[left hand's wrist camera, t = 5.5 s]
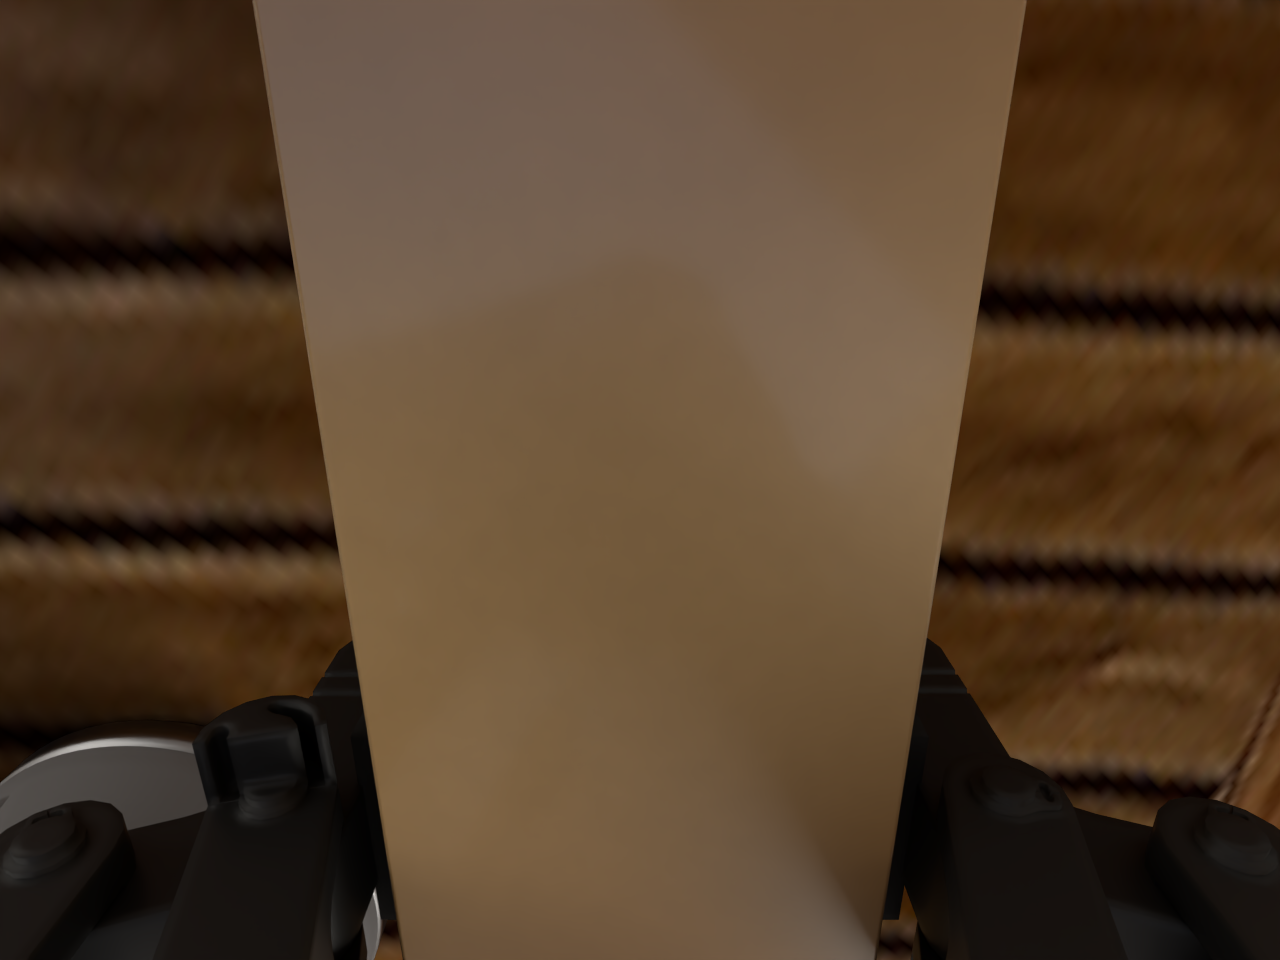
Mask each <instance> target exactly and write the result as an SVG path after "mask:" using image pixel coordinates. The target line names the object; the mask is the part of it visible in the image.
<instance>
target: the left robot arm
mask: <svg viewBox="0 0 1280 960" xmlns="http://www.w3.org/2000/svg"><path fill="white" fill-rule="evenodd" d="M904 885H905V888H906V890H907V893H908V896H909V898H910V901H911V904H912V906H913V909H914V912H915V915H916V917H917V920H918V922H917V927H916V933H915V938H914V944H913V949H912V955H911V960H1280V830H1279V829H1278V828H1276V827H1275V826H1274V825H1272V824H1270V823H1268V822H1266V821H1265V820H1263V819H1261V818H1259V817H1257V816H1256V815H1254V814H1252V813H1250V812H1248V811H1246V810H1244V809H1241V808H1238V807H1235V806H1232V805H1229V804H1226V803H1223V802H1220V801H1218V800H1212V799H1204V798H1196V797H1185V798H1179V799H1173V800H1169V801H1168V802H1167V803H1166V804H1165V805H1163V806H1162V807H1161V808H1160V809H1159V810H1158V812H1157V815H1156V818H1155V822H1154V825H1153V827H1150V826H1146V825H1141V824H1137V823H1133V822H1128V821H1124V820H1120V819H1115V818H1111V817H1107V816H1102V815H1098V814H1095V813H1091V812H1088V811H1085V810H1081V809H1078V808H1075V807H1073V805H1072V803H1071V802H1070V800H1069V799H1068V797H1067V795H1066V794H1065V792H1064V791H1063V789H1062V787H1060V786H1059V785H1058V784H1057V783H1056V782H1055V781H1053V780H1052V779H1051V778H1050V777H1049V776H1047V775H1046V774H1045V773H1044V772H1043V771H1041V770H1039V769H1037V768H1035V767H1033V766H1031V765H1029V764H1027V763H1025V762H1023V761H1021V760H1018V759H1014V758H1011V757H1010V756H1009V755H1008V753H1007V751H1006V750H1005V748H1004V747H1003V745H1002V744H1001V742H1000V740H999V739H998V737H997V736H996V734H995V733H994V731H993V729H992V728H991V726H990V725H989V723H988V722H987V720H986V718H985V717H984V715H983V714H982V712H981V710H980V709H979V707H978V706H977V704H976V703H975V701H974V699H973V698H972V696H971V695H970V694H967V688H966V687H965V685H964V684H963V682H962V681H961V679H960V677H959V676H958V675H955V670H954V668H953V666H952V665H951V663H950V662H949V660H948V659H947V657H946V655H945V654H944V652H943V651H942V649H941V648H940V647H939V646H937V645H936V644H935V643H933V642H932V641H931V640H929V639H928V638H927V639H926V646H925V652H924V658H923V665H922V671H921V677H920V684H919V690H918V697H917V703H916V709H915V716H914V722H913V728H912V735H911V741H910V748H909V754H908V760H907V767H906V773H905V779H904V786H903V792H902V799H901V805H900V811H899V818H898V824H897V830H896V837H895V843H894V850H893V856H892V862H891V869H890V875H889V882H888V888H887V894H886V901H885V907H884V913H883V920H899V914H900V908H901V902H902V896H903V890H904ZM387 920H397V918H396V912H395V906H394V899H393V893H392V887H391V880H390V874H389V867H388V861H387V855H386V848H385V842H384V836H383V829H382V823H381V816H380V810H379V804H378V797H377V791H376V785H375V778H374V772H373V766H372V759H371V753H370V746H369V740H368V734H367V727H366V721H365V715H364V708H363V702H362V696H361V689H360V683H359V676H358V670H357V664H356V657H355V651H354V645H353V640H352V641H351V642H350V643H348V644H347V645H346V646H344V647H343V648H342V649H340V650H339V651H338V653H337V654H336V656H335V658H334V659H333V661H332V662H331V664H330V666H329V667H328V669H327V670H326V672H325V677H322V678H321V680H320V681H319V683H318V685H317V686H316V688H315V689H314V691H313V696H310V697H309V699H307V698H304V697H300V696H296V695H287V696H270V697H265V698H261V699H257V700H253V701H249V702H246V703H244V704H241V705H239V706H237V707H235V708H233V709H230V710H228V711H226V712H224V713H222V714H221V715H220V716H218V717H217V718H216V719H214V720H213V721H211V722H210V723H209V724H207V725H206V726H200V725H195V724H189V723H181V722H173V721H155V720H140V721H123V722H115V723H107V724H102V725H98V726H93V727H89V728H85V729H82V730H79V731H76V732H73V733H70V734H67V735H65V736H63V737H61V738H58V739H56V740H54V741H52V742H50V743H48V744H47V745H45V746H43V747H42V748H40V749H38V750H37V751H36V752H34V753H33V754H32V755H30V756H29V757H28V758H26V759H25V760H24V761H23V762H22V763H21V764H20V765H19V766H18V767H17V768H16V769H15V770H13V771H12V772H11V773H10V774H9V775H8V776H7V777H6V778H5V779H4V780H3V781H2V782H1V783H0V960H374V958H375V955H376V952H377V949H378V946H379V943H380V940H381V937H382V934H383V931H384V928H385V925H386V922H387Z"/></svg>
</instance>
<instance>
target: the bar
mask: <svg viewBox="0 0 1280 960" xmlns="http://www.w3.org/2000/svg"><path fill="white" fill-rule="evenodd" d="M1026 1H1027V0H252V2H253V8H254V14H255V21H256V27H257V33H258V40H259V46H260V52H261V59H262V65H263V72H264V78H265V84H266V91H267V97H268V103H269V110H270V116H271V123H272V129H273V135H274V142H275V148H276V154H277V161H278V167H279V173H280V180H281V186H282V193H283V199H284V205H285V212H286V218H287V224H288V231H289V237H290V243H291V250H292V256H293V263H294V269H295V275H296V282H297V288H298V294H299V301H300V307H301V314H302V320H303V326H304V333H305V339H306V345H307V352H308V358H309V364H310V371H311V377H312V384H313V390H314V396H315V403H316V409H317V415H318V422H319V428H320V434H321V441H322V447H323V454H324V460H325V466H326V473H327V479H328V485H329V492H330V498H331V505H332V511H333V517H334V524H335V530H336V536H337V543H338V549H339V555H340V562H341V568H342V575H343V581H344V587H345V594H346V600H347V606H348V613H349V619H350V625H351V632H352V638H353V645H354V651H355V657H356V664H357V670H358V676H359V683H360V689H361V696H362V702H363V708H364V715H365V721H366V727H367V734H368V740H369V746H370V753H371V759H372V766H373V772H374V778H375V785H376V791H377V797H378V804H379V810H380V816H381V823H382V829H383V836H384V842H385V848H386V855H387V861H388V867H389V874H390V880H391V887H392V893H393V899H394V906H395V912H396V918H397V925H398V931H399V937H400V944H401V950H402V957H403V960H876V958H877V952H878V945H879V939H880V933H881V926H882V920H883V913H884V907H885V901H886V894H887V888H888V882H889V875H890V869H891V862H892V856H893V850H894V843H895V837H896V830H897V824H898V818H899V811H900V805H901V799H902V792H903V786H904V779H905V773H906V767H907V760H908V754H909V748H910V741H911V735H912V728H913V722H914V716H915V709H916V703H917V697H918V690H919V684H920V677H921V671H922V665H923V658H924V652H925V646H926V639H927V633H928V626H929V620H930V614H931V607H932V601H933V595H934V588H935V582H936V575H937V569H938V563H939V556H940V550H941V544H942V537H943V531H944V524H945V518H946V512H947V505H948V499H949V492H950V486H951V480H952V473H953V467H954V461H955V454H956V448H957V441H958V435H959V429H960V422H961V416H962V410H963V403H964V397H965V390H966V384H967V378H968V371H969V365H970V359H971V352H972V346H973V339H974V333H975V327H976V320H977V314H978V308H979V301H980V295H981V288H982V282H983V276H984V269H985V263H986V257H987V250H988V244H989V237H990V231H991V225H992V218H993V212H994V206H995V199H996V193H997V186H998V180H999V174H1000V167H1001V161H1002V155H1003V148H1004V142H1005V135H1006V129H1007V123H1008V116H1009V110H1010V103H1011V97H1012V91H1013V84H1014V78H1015V72H1016V65H1017V59H1018V52H1019V46H1020V40H1021V33H1022V27H1023V21H1024V14H1025V8H1026Z"/></svg>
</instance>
